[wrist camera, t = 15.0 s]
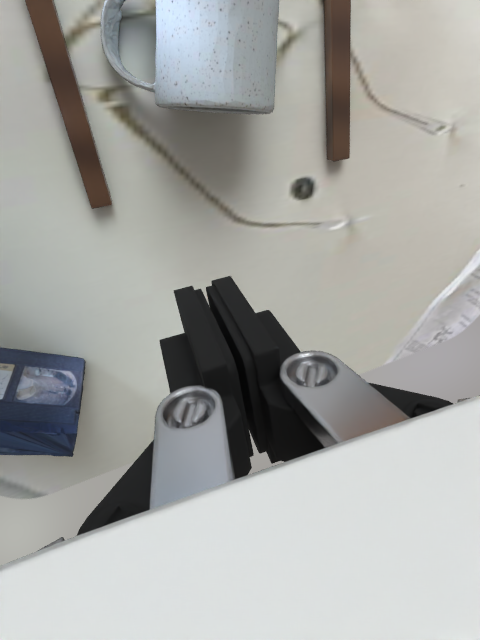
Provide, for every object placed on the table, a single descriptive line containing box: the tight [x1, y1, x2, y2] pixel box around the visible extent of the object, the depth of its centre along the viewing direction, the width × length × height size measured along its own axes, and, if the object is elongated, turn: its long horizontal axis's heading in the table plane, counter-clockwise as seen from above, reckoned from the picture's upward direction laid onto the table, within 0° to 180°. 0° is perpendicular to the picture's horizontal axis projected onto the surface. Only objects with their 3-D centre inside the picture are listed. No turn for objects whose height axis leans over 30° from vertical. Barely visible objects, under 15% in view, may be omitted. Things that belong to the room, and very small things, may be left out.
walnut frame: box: [25, 0, 351, 209], centre depth 28 cm, size 18×21×1 cm
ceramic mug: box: [101, 0, 279, 114], centre depth 24 cm, size 11×8×8 cm
